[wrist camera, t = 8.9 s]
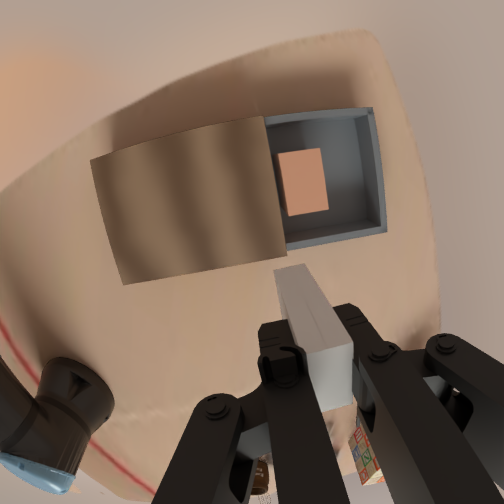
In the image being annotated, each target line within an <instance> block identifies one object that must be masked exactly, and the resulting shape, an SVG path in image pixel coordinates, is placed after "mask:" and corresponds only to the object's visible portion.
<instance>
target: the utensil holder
mask: <svg viewBox="0 0 504 504" xmlns="http://www.w3.org/2000/svg"><path fill="white" fill-rule="evenodd" d="M268 484H269V471H268V466H267V464H266V463H264V462H261V461H258V464H257V469H256V473H255V478H254V482H253V486H252V491H251V495H258V497H259V495H262V494H264V495H265V493H267V491H268ZM268 494H269V493H268ZM266 495H267V494H266Z"/></svg>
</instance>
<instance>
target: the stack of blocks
mask: <svg viewBox="0 0 504 504" xmlns="http://www.w3.org/2000/svg"><path fill="white" fill-rule="evenodd" d="M348 443H349V446H350V449H351V452H352V455H353V458H354V461H355V465H356V468H357V471H358V474H359V476H360V479H361V483H362V485H363V486H364V485H370V484H375V483H379V482H383V481H385V479H384V476H383V474H382V471H381V469H380V466H379V464H378V461H377V459H376V457H375V454H374V452H373V449H372V447H371V445H370V442H369V440H368V438H367V435H366V433H365V431H364V428H363V426H362V424H360V427H358V428H357V430H356V432H355V433H354V435H353V436H352V437H351V439H350V440H349V442H348Z"/></svg>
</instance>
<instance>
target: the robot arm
mask: <svg viewBox="0 0 504 504" xmlns="http://www.w3.org/2000/svg"><path fill="white" fill-rule="evenodd" d="M274 276H275V281H276V286H277V292H278V297H279V303H280V308H281V314H282V319H283V320H279V321H274V322H269V323H265V324H262V325H261V327H260V329H259V331H258V339H259V346H260V354H261V355H260V356H259V357H258V363H257V364H258V368H259V372H260V376H261V380H262V382H261V384H260V385H259V387H258V388H257V389H255V390H254V391H253V392H251V393H249V394H248V395H245V396H243V397H241V398H238V399H237V398H236V397H234V396H232V395H230V394H224V393H220V394H213V395H210V396H208V397H205V398H204V399H203V400H201V401H200V402H199V403H198V404H197V405H196V407H195V408H194V410H193V413H192V415H191V417H190V419H189V422H188V424H187V426H186V428H185V431H184V433H183V435H182V437H181V439H180V442H179V444H178V446H177V448H176V450H175V453H174V455H173V457H172V459H171V461H170V464H169V466H168V468H167V470H166V472H165V475H164V477H163V479H162V481H161V483H160V486H159V488H158V490H157V492H156V494H155V496H154V499H153V501H152V503H151V504H248V503H249V499H250V495H251V491H252V486H253V482H254V478H255V473H256V469H257V464H258V460H259V457H260V456H262V455H265V454H267V453H269V452H271V451H272V458H273V465H274V473H275V480H276V487H277V495H278V501H279V504H350V501H349V498H348V495H347V492H346V488H345V485H344V482H343V479H342V475H341V472H340V469H339V466H338V463H337V459H336V456H335V453H334V450H333V447H332V444H331V441H330V437H329V434H328V431H327V428H326V425H325V422H324V419H323V416H322V413H321V412H324V411H328V410H332V409H336V408H339V407H343V406H346V405H349V404H353V394H354V397H355V399H356V401H357V417H356V426H357V428H358V427H360V421H361V424H362V426H363V428H364V431H365V433H366V435H367V438H368V440H369V442H370V445H371V447H372V449H373V452H374V454H375V457H376V459H377V461H378V464H379V466H380V469H381V471H382V474H383V476H384V479H385V481H386V483H387V486H388V488H389V491H390V493H391V496H392V499H393V501H394V504H504V499H503V498H502V496H501V494H500V492H499V490H498V489H497V487H496V485H495V484H494V482H495V483H496V484H497V485H499V486H500V487H501V488H502V489H503V490H504V364H502V363H500V362H499V361H497V360H496V359H494V358H492V357H491V356H489V355H487V354H486V353H484V352H482V351H481V350H479V349H478V348H476V347H474V346H473V345H471V344H469V343H468V342H466V341H465V340H463V339H461V338H460V337H458V336H455V335H452V334H447V333H443V334H437V335H435V336H432V337H431V338H430V339H429V340H428V341H427V344H426V348H425V349H420V350H411V351H402V350H401V349H400V347H398V346H397V345H396V344H394V343H392V342H389V341H383V339H382V338H381V337H380V335H379V334H378V333H377V331H376V330H375V329H374V327H373V326H372V325H371V323H370V322H368V319H367V318H366V317H365V316H364V314H363V313H362V312H361V310H360V309H359V308H358V307H356V306H354V305H352V304H350V303H347V304H343V305H339V306H335V307H332V306H331V305H330V303H329V302H328V300H327V298H326V297H325V295H324V294H323V292H322V290H321V289H320V287H319V286H318V284H317V283H316V281H315V279H314V278H313V276H312V275H311V273H310V272H309V270H308V268H307V267H306V265H305V264H300V265H295V266H290V267H285V268H281V269H276V270H274ZM1 357H2V356H1V355H0V463H1V464H3V466H4V467H5V468H7V469H8V470H9V471H10V472H12V473H13V474H15V475H16V476H17V477H19V478H21V479H22V480H24V481H26V482H28V483H29V484H31V485H33V486H35V487H37V488H39V489H42V490H44V491H47V492H49V493H53V494H59V495H61V494H65V493H66V492H67V491H68V490H69V488H70V486H71V484H72V482H73V480H74V479H75V475H76V472H77V470H78V467H79V464H80V462H81V459H82V457H83V454H84V452H85V449H86V447H87V444H88V442H89V440H90V437H91V435H92V434H93V433H94V432H95V431H96V430H97V429H98V428H99V427H100V426H101V425H102V424H103V423H104V422H106V421H107V420H108V419H109V417H110V416H111V413H112V411H113V409H114V398H113V395H112V393H111V391H110V390H109V388H108V387H107V385H106V384H105V383H104V382H103V381H102V380H101V378H99V377H98V376H97V375H96V374H95V373H94V372H93V371H91V370H90V369H88V368H87V367H85V366H84V365H82V364H80V363H78V362H76V361H73V360H71V359H67V358H54V359H52V360H50V361H49V362H48V364H47V365H46V366H45V367H44V369H43V371H42V374H41V380H40V383H39V387H38V391H37V395H36V397H35V398H33V397H32V396H31V394H30V393H29V392H28V391H27V390H26V389H25V388H24V386H23V385H22V384H21V383H20V382H19V380H18V379H17V378H16V376H15V375H14V374H13V373H12V371H11V370H10V369H9V367H8V366H7V365H6V363H5V362H4V360H3V359H2V358H1ZM454 388H456V389H457V390H458V391H459V392H456V391H454V390H453V389H454ZM493 481H494V482H493Z"/></svg>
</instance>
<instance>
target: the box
mask: <svg viewBox="0 0 504 504" xmlns="http://www.w3.org/2000/svg"><path fill="white" fill-rule="evenodd" d="M264 123H265V128H266V133H267V139H268V144H269V149H270V155H271V160H272V166H273V171H274V177H275V183H276V189H277V194H278V200H279V206H280V212H281V218H282V225H283V231H284V237H285V244H286V250H287V251H289V250H295V249H300V248H306V247H311V246H316V245H322V244H327V243H332V242H338V241H343V240H348V239H353V238H359V237H364V236H369V235H375V234H380V233H385V232H387V215H386V202H385V190H384V180H383V171H382V163H381V155H380V148H379V141H378V135H377V129H376V123H375V117H374V112H373V107H366V108H345V109H331V110H319V111H309V112H300V113H291V114H284V115H276V116H269V117H264ZM315 148H320V152H321V158H322V164H323V171H324V177H325V184H326V192H327V199H328V207H329V209H328V210H322V211H316V212H310V213H304V214H299V215H293V216H288V215H287V213H286V212H285V211H284V210H283V208H282V207H281V205H280V199H279V193H278V187H277V181H276V176H275V170H274V164H273V159H272V155H273V154H279V153H286V152H293V151H300V150H307V149H315Z"/></svg>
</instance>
